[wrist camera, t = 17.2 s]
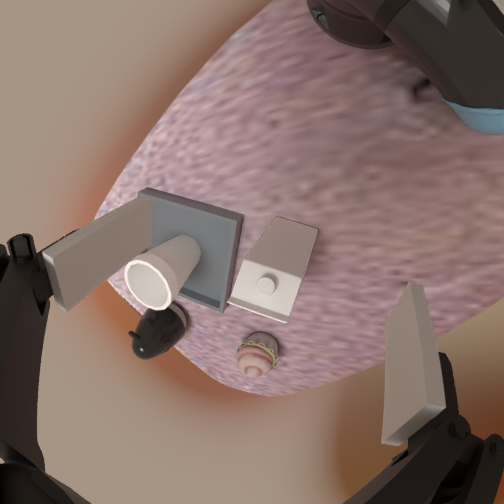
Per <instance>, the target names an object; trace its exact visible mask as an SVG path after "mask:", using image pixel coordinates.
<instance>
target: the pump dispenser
mask: <svg viewBox="0 0 504 504" xmlns="http://www.w3.org/2000/svg"><path fill="white" fill-rule="evenodd" d="M185 329H186V318H185V315H184V313H183V312H182V310H181V309H180V308H179V307H178V306H176V305H175V304H173V303H170V304H169V306H168V307H167V308H166V309H163V310H154V309H151V308H148V309H147V310H146V311H145V313H144V314H143V316H142V317H141V319H140V321H139V323H138V325H137V327H136V329H135V332H133V331H129V333H128V334H129V335H130V336H131V337H132V338H133V339H132V350H133V352H134V354H135V355H136V356H137V357H139V358H140V359H143V360H148V359H152V358H155V357H158V356H160V355H162V354H163V353H165V352H167V351H168V350H169V349H171V348H172V347H173V346H174V345H176V344H177V343H178V342H179V341H180V340H181V339H182V337H183V336H184V334H185Z"/></svg>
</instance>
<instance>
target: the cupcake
mask: <svg viewBox="0 0 504 504" xmlns="http://www.w3.org/2000/svg"><path fill="white" fill-rule="evenodd" d="M236 351H237V355H236V357H237V361H238V365H239V368H240V370H241V371H242V373H243V374H244V375H245V376H247V377H250V378H255V377H258V376H262V375H265V374H267V373H269V372H270V371H272V370H273V368H274V367H277V366H278V362H277V361H278V359H279V357H278V354H277V351H278V345H277V342H276V340H275V339H274V337H272V336H271V335H269V334H267V333H264V332H256V333H254V334H252V335H251V336H250V337H249V338H248V339H247V340H246V341H243V342H241V343H240V346H239V347H237V348H236Z"/></svg>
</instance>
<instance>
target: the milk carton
mask: <svg viewBox="0 0 504 504" xmlns="http://www.w3.org/2000/svg"><path fill="white" fill-rule="evenodd" d="M317 233H318V229H316V228H313V227H310V226H307V225H303V224H300V223H297V222H294V221H290V220H287V219H284V218H280V217H276V218H275V219H274V220H273V222H272V223H271V224H270V226H269V227H268V228H267V230H266V231H265V232H264V234H263V235H262V236H261V238H260V239H259V240H258V242H257V243H256V244H255V246H254V247H253V248H252V250H251V251H250V252H249V254H248V255H247V257H246V258H245V259H244V261H243V263H242V266H241V269H240V272H239V274H238V277H237V280H236V283H235V285H234V288H233V291H232V294H231V296H230V298H229V299H228V301H227V303H230V304H232V305H235V306H238V307H241V308H243V309H246V310H249V311H252V312H254V313H257V314H260V315H263V316H266V317H269V318H272V319H274V320H277V321H280V322H283V323H287V322H288V319H289V317H290V314H291V311H292V308H293V306H294V303H295V300H296V297H297V295H298V292H299V289H300V286H301V283H302V280H303V278H304V275H305V272H306V269H307V266H308V263H309V259H310V256H311V253H312V250H313V246H314V243H315V240H316V237H317Z"/></svg>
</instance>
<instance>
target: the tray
mask: <svg viewBox="0 0 504 504" xmlns="http://www.w3.org/2000/svg"><path fill="white" fill-rule="evenodd" d="M140 196H144V197H147V198H151V199H152V245H151V246H149V247H148V248H147V249H145V250H144V251H143V252H141V253H140V254H139V255H141V254H144V253H146V252H148V251H150V250H151V249H153V248H155V247H157V246H159V245H161V244H163V243H165V242H167V241H169V240H171V239H173V238H175V237H177V236H180V235H187V236H190V237H191V238H193V239H194V240H195V241H196V242H197V244H198V245H199V247H200V251H201V257H200V260H199V262H198V263H197V265H196V266H195V268H194V269H193V271H192V272H191V274H190V275H189V277H188V278H187V280H186V281H185V283H184V284H183V286H182V288H181V289H180V291H179V292H178V295H179V296H182V297H184V298H186V299H189V300H191V301H194V302H196V303H199V304H201V305H204V306H206V307H209V308H211V309H214V310H216V311H219V312H221V313H223V312H224V310H225V309H226V307H227V306H228V304H229V303H227V301H228V299H229V298H230V293H231V286H232V280H233V274H234V268H235V263H236V257H237V251H238V245H239V239H240V233H241V227H242V222H243V216H244V215H243V214H239V213H236V212H233V211H229V210H226V209H222V208H219V207H216V206H212V205H209V204H205V203H202V202H198V201H195V200H191V199H188V198H184V197H181V196H177V195H173V194H170V193H166V192H162V191H159V190H155V189H151V188H145V189H143V190H141V191H139V192H138V197H140Z"/></svg>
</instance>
